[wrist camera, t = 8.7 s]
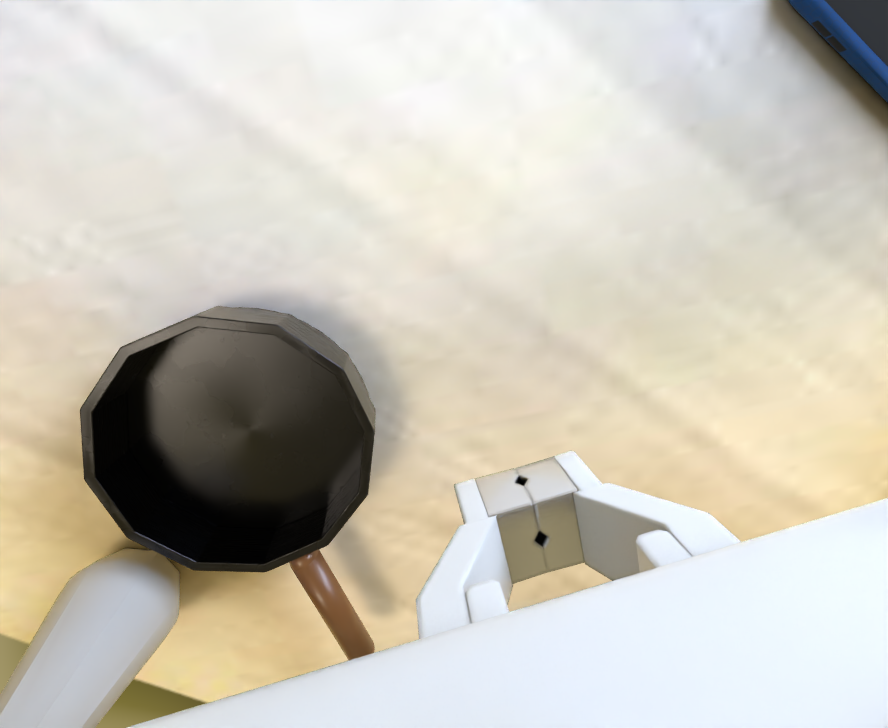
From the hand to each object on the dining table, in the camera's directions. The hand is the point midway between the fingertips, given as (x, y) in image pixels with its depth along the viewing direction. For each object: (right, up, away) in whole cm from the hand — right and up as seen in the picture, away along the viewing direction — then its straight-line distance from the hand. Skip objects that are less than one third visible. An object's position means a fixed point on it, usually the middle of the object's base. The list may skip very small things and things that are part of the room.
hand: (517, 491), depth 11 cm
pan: (-11, -4, +16) cm, 19 cm away
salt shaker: (-19, -9, +16) cm, 27 cm away
